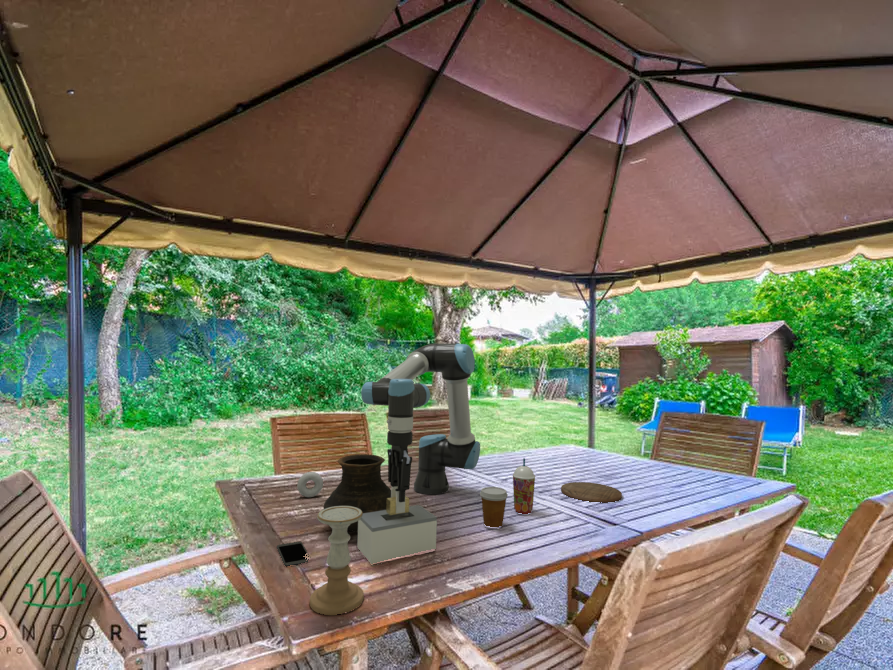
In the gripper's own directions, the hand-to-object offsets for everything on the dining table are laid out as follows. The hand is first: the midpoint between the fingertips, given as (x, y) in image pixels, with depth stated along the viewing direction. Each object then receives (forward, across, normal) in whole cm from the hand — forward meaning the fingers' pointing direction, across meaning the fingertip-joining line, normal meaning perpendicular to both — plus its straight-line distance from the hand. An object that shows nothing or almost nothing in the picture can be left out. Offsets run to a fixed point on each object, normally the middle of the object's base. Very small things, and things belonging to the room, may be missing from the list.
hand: (397, 510), depth 132 cm
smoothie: (+12, -9, +55) cm, 57 cm away
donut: (+12, -60, -12) cm, 62 cm away
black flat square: (+12, -11, -27) cm, 32 cm away
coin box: (+12, 0, 0) cm, 12 cm away
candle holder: (+12, +19, -23) cm, 32 cm away
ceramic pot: (+12, -21, -4) cm, 24 cm away
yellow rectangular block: (0, 0, 0) cm, 0 cm away
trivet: (+12, -15, +97) cm, 99 cm away
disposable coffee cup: (+12, -3, +37) cm, 39 cm away
